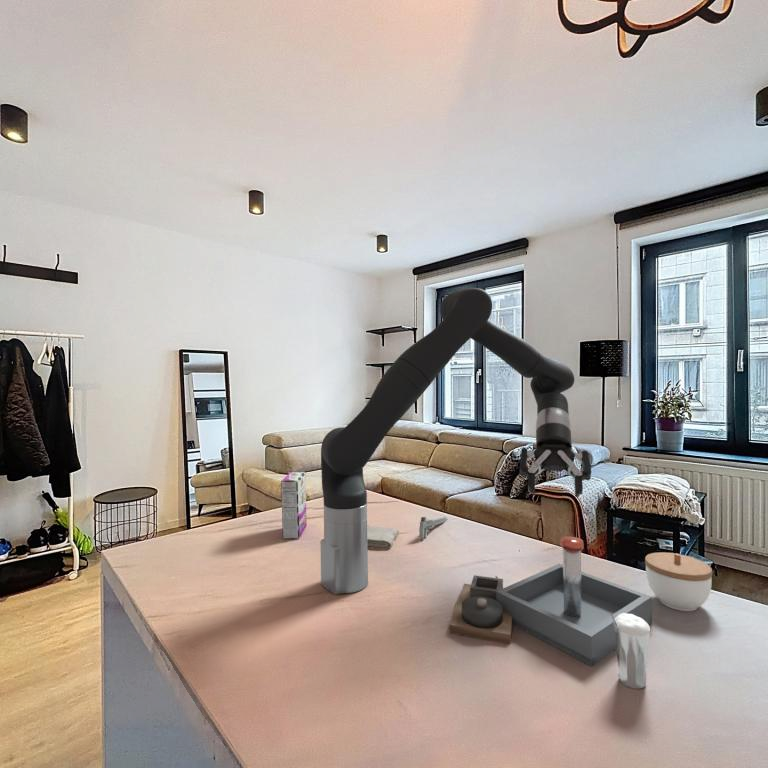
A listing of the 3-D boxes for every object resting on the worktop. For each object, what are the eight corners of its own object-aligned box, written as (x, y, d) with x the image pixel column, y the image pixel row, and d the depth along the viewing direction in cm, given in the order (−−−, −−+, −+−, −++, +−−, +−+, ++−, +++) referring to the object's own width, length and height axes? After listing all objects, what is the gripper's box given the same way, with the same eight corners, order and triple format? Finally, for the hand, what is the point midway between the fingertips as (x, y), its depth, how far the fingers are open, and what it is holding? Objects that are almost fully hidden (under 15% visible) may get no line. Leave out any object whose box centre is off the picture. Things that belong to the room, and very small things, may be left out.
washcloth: (339, 531, 129) (339, 521, 129) (400, 535, 125) (399, 524, 125) (325, 546, 118) (325, 535, 118) (391, 551, 114) (391, 539, 114)
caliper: (423, 542, 119) (422, 518, 119) (419, 541, 120) (419, 518, 120) (447, 520, 138) (447, 500, 138) (444, 519, 138) (444, 499, 138)
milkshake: (602, 672, 65) (601, 604, 65) (636, 670, 66) (636, 602, 65) (621, 694, 61) (620, 621, 60) (658, 691, 61) (657, 619, 61)
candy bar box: (290, 526, 133) (289, 471, 133) (307, 526, 133) (306, 471, 133) (281, 539, 122) (280, 480, 122) (299, 539, 122) (298, 480, 122)
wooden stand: (510, 643, 72) (510, 616, 72) (449, 633, 76) (449, 607, 76) (514, 597, 88) (514, 575, 88) (464, 590, 91) (463, 569, 91)
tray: (591, 666, 67) (591, 636, 66) (496, 616, 81) (496, 591, 81) (651, 622, 78) (651, 596, 78) (559, 585, 93) (559, 563, 93)
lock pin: (576, 621, 77) (575, 545, 77) (557, 612, 80) (556, 539, 80) (588, 614, 79) (587, 540, 79) (568, 605, 82) (568, 534, 82)
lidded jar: (701, 594, 88) (700, 547, 88) (722, 622, 78) (721, 569, 78) (640, 586, 92) (639, 541, 92) (652, 612, 81) (652, 561, 81)
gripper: (520, 420, 102) (518, 480, 91) (588, 422, 98) (594, 485, 87) (521, 440, 107) (519, 499, 97) (585, 443, 103) (591, 505, 92)
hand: (555, 493), depth 92 cm, fingers open, 8 cm apart
